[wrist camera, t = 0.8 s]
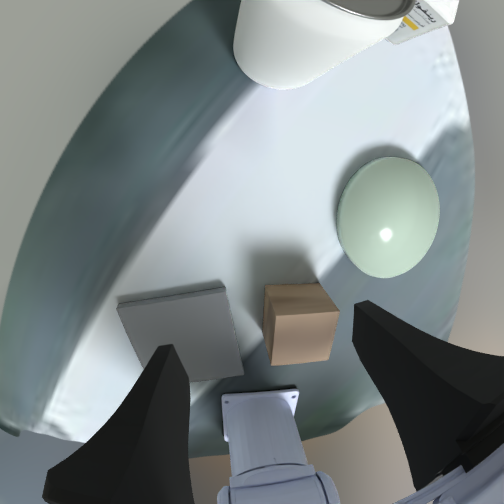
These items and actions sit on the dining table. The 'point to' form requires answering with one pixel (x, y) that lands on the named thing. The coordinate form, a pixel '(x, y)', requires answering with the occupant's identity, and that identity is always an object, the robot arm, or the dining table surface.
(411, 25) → the container
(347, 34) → the can
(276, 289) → the walnut block
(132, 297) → the dining table surface
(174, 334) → the slate coaster
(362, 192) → the sage dish
